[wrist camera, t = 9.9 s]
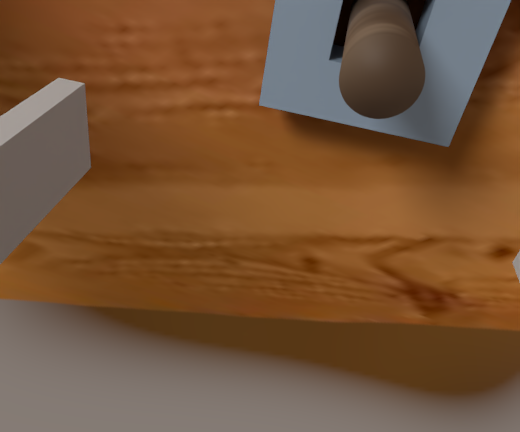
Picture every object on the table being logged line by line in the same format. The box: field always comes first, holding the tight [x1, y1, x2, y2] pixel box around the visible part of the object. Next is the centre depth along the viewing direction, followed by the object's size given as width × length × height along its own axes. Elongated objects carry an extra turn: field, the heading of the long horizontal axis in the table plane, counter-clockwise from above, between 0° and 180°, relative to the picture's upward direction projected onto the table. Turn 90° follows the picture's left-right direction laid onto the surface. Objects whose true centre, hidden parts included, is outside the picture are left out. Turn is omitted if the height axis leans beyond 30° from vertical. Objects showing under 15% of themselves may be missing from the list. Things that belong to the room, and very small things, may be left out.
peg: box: [339, 0, 425, 119], centre depth 29 cm, size 4×4×14 cm
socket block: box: [259, 0, 511, 147], centre depth 33 cm, size 14×14×4 cm
